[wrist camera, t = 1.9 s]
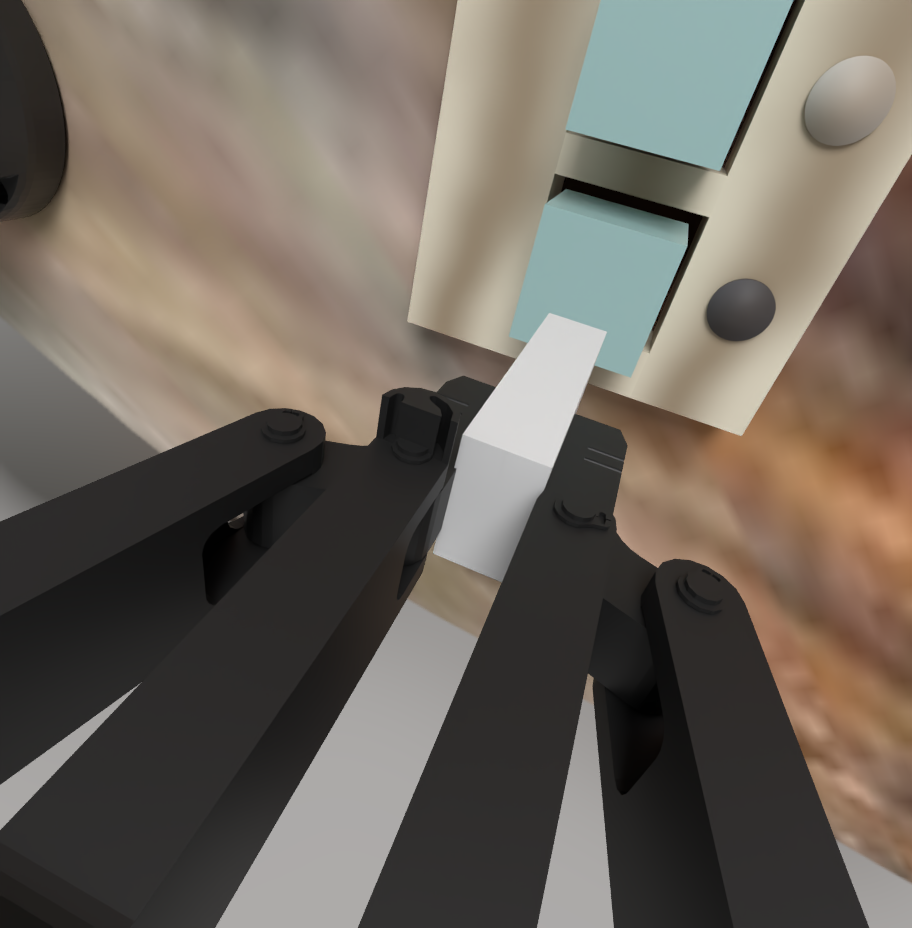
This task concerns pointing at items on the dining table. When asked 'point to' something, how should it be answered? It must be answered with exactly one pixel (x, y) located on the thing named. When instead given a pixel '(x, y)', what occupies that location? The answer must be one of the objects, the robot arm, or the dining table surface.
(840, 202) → the board
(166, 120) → the dining table surface
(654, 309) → the button
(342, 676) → the robot arm
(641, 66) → the button
